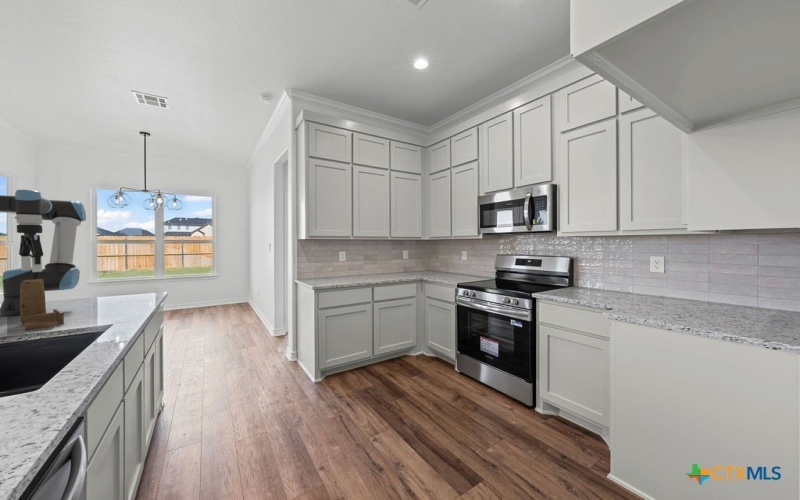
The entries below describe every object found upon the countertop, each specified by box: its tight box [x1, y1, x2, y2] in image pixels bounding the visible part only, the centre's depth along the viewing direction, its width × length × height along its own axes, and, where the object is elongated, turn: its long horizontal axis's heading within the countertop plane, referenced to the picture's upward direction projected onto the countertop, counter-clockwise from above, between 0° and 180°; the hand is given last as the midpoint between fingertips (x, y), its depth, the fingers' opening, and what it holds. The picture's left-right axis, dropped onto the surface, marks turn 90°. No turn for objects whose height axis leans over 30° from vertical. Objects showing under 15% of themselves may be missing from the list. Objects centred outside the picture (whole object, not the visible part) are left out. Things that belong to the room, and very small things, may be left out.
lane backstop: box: [24, 312, 58, 332], centre depth 136 cm, size 1×9×6 cm, turn 147°
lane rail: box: [52, 308, 65, 325], centre depth 146 cm, size 14×1×5 cm, turn 57°
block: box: [19, 279, 47, 326], centre depth 144 cm, size 11×8×20 cm
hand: (31, 271), depth 143 cm, fingers open, 13 cm apart
